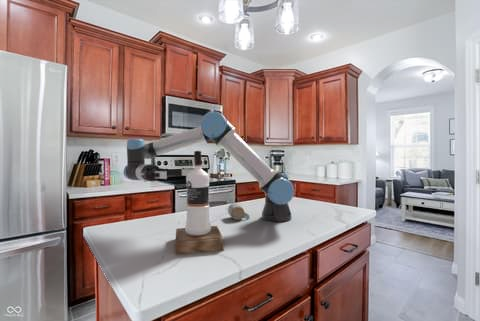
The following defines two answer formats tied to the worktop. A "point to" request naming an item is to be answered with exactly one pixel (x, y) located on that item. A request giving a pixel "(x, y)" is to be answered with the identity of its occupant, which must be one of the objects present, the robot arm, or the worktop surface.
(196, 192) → the vodka
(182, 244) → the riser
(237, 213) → the ceramic mug
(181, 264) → the worktop surface
